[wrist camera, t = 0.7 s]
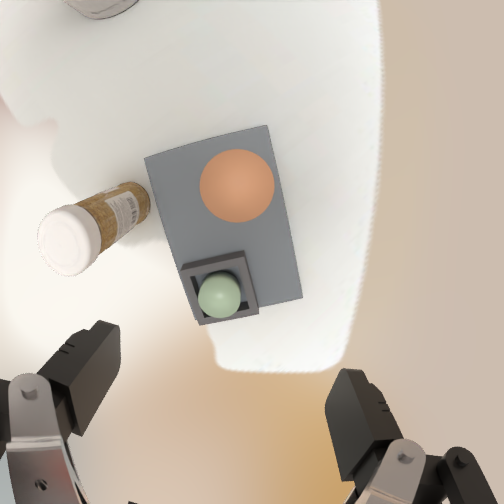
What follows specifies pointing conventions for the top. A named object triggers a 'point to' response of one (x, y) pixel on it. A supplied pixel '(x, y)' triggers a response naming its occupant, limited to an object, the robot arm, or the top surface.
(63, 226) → the sprinkles bottle
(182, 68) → the top surface
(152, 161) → the slate board
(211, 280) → the button
